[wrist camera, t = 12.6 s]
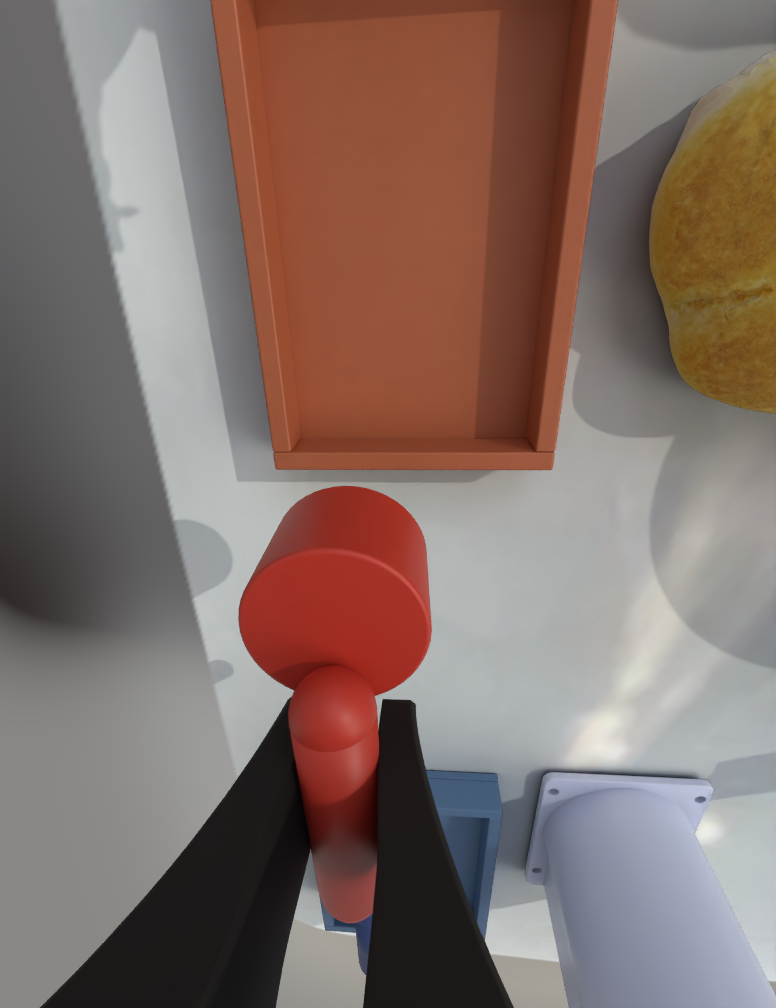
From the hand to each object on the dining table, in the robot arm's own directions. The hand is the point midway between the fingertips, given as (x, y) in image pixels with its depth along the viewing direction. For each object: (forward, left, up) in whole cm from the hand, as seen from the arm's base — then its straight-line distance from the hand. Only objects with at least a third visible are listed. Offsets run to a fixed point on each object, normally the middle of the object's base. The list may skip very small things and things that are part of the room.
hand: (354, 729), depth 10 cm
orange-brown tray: (+10, -1, -8) cm, 13 cm away
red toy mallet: (+1, 0, -2) cm, 2 cm away
